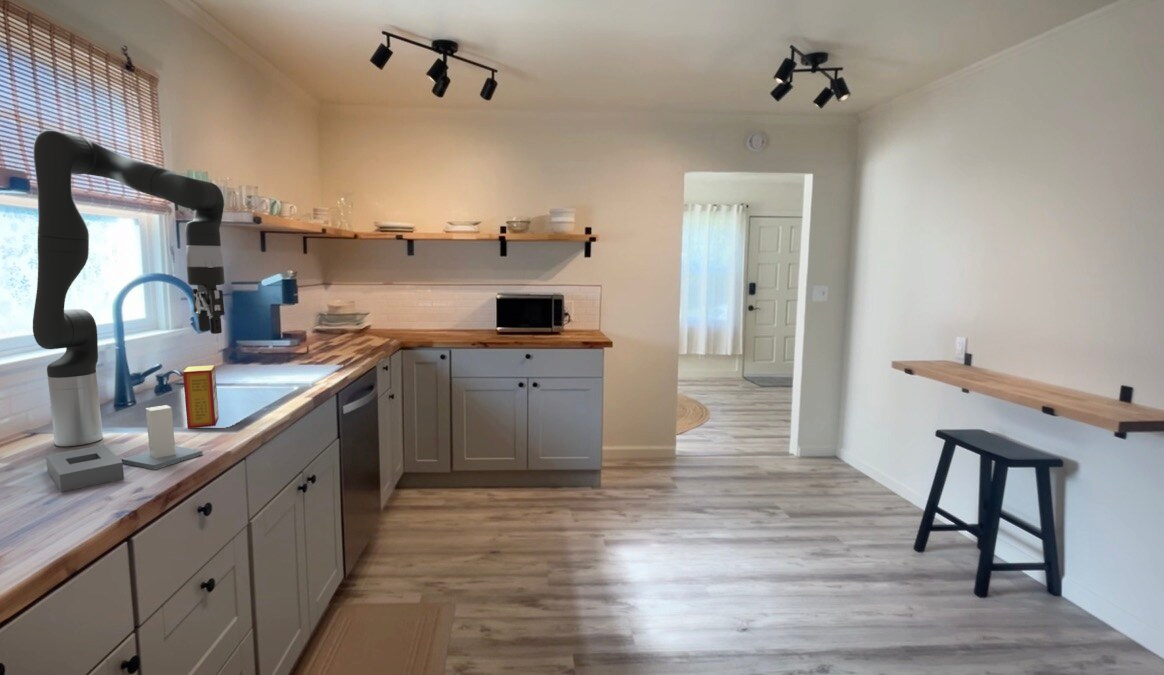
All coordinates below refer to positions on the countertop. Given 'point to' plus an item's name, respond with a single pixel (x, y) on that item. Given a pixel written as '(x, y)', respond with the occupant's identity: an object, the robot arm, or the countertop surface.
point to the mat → (152, 463)
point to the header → (84, 467)
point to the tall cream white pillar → (160, 431)
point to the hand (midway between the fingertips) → (210, 332)
